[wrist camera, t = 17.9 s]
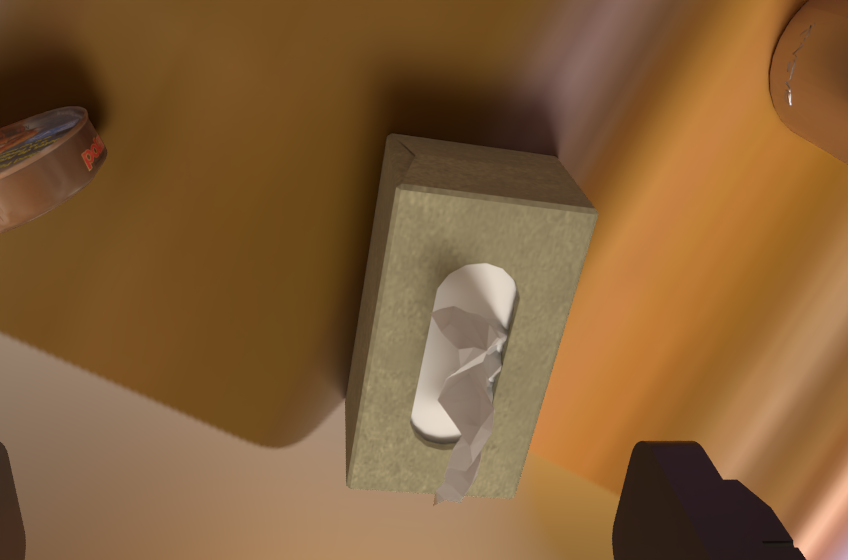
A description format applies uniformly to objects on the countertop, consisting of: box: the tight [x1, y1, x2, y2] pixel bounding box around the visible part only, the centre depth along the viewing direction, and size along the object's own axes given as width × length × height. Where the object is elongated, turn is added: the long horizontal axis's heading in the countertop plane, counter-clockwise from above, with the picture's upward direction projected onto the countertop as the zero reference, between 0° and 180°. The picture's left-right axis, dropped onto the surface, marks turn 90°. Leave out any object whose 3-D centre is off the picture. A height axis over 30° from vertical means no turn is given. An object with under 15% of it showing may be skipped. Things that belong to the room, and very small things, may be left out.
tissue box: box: [345, 133, 598, 505], centre depth 40 cm, size 19×10×16 cm, turn 170°
